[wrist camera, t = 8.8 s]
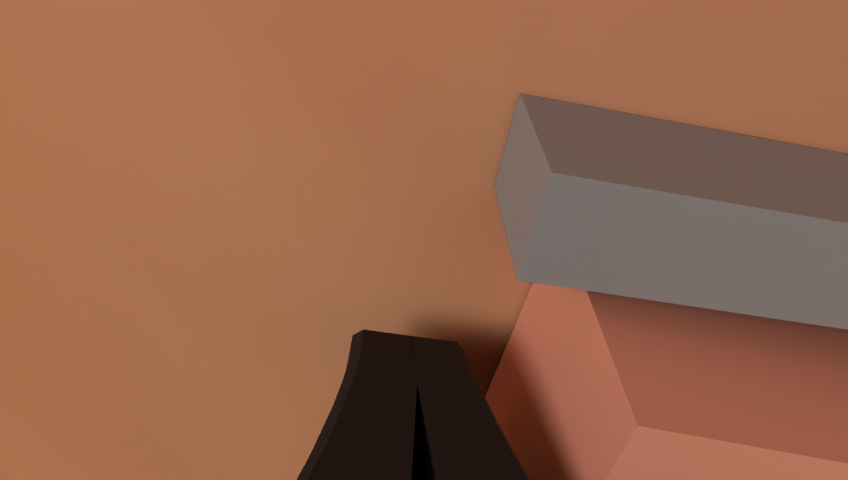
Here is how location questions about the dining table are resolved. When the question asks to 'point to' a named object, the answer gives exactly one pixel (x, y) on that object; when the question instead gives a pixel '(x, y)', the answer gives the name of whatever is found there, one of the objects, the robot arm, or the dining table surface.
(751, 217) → the cable organizer
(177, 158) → the dining table surface
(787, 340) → the brick-red plug
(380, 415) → the robot arm
